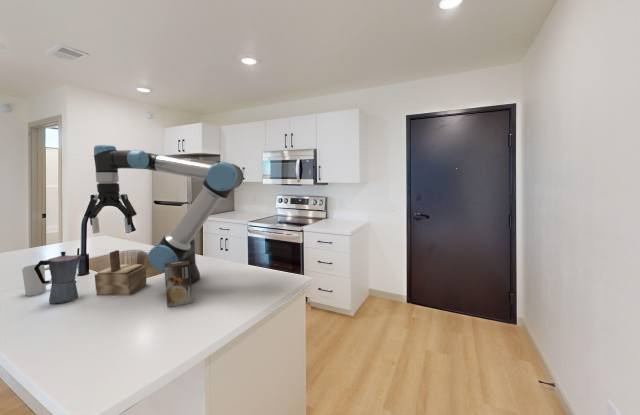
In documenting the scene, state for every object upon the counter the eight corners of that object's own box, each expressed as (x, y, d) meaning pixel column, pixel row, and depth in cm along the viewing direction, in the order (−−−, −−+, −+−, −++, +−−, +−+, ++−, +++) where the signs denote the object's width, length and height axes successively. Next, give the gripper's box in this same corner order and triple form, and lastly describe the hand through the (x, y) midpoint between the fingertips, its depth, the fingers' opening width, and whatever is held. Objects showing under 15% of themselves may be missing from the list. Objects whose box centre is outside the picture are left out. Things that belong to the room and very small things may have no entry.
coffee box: (191, 297, 119) (189, 259, 117) (192, 302, 113) (190, 263, 111) (166, 301, 114) (164, 262, 113) (166, 307, 109) (163, 267, 107)
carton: (147, 284, 133) (146, 265, 132) (130, 294, 121) (129, 274, 120) (115, 284, 132) (113, 266, 131) (95, 295, 120) (93, 274, 120)
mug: (25, 297, 118) (22, 269, 117) (24, 293, 122) (21, 266, 121) (57, 290, 126) (55, 264, 124) (55, 286, 130) (53, 261, 129)
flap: (142, 265, 131) (141, 246, 130) (126, 273, 120) (125, 252, 119) (115, 265, 131) (114, 246, 130) (97, 273, 120) (95, 252, 119)
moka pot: (91, 294, 121) (87, 248, 119) (47, 310, 107) (42, 258, 105) (77, 291, 124) (73, 247, 122) (32, 306, 110) (26, 256, 108)
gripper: (143, 182, 122) (147, 230, 125) (85, 183, 122) (89, 231, 124) (132, 182, 115) (136, 234, 117) (70, 183, 114) (75, 234, 117)
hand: (112, 232), depth 121 cm, fingers open, 13 cm apart
